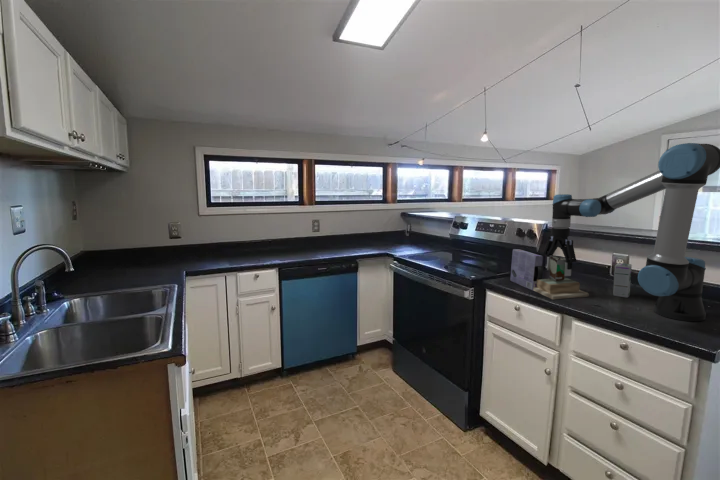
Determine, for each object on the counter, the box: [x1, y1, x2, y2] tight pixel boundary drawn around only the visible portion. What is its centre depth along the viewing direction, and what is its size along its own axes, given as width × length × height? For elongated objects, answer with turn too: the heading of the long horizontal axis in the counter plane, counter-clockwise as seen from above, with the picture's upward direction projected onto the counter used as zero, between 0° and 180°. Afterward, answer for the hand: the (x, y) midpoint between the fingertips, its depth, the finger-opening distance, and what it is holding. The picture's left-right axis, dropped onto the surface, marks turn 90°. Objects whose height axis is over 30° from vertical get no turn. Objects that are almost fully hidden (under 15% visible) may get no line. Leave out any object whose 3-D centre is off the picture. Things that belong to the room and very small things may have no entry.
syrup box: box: [612, 262, 633, 298], centre depth 162 cm, size 6×6×14 cm
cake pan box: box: [509, 248, 544, 291], centre depth 181 cm, size 19×5×18 cm, turn 12°
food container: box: [548, 254, 566, 281], centre depth 167 cm, size 12×6×10 cm, turn 168°
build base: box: [532, 277, 589, 300], centre depth 170 cm, size 18×18×6 cm
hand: (558, 272), depth 169 cm, fingers closed on food container, 11 cm apart
